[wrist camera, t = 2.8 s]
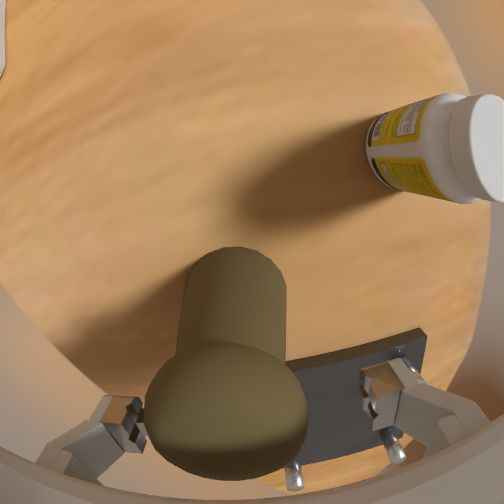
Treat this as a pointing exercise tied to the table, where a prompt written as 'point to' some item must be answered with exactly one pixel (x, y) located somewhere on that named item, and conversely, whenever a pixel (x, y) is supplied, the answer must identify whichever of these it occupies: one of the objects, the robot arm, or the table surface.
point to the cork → (229, 374)
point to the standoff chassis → (348, 401)
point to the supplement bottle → (442, 148)
